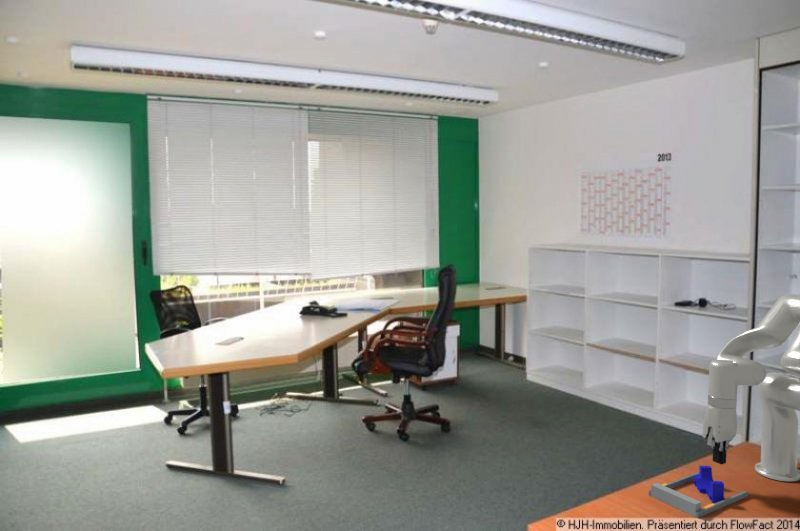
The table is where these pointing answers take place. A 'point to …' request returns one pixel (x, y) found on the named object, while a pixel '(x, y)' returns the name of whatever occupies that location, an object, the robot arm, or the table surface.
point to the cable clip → (709, 484)
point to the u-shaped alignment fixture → (689, 498)
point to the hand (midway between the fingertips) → (719, 462)
